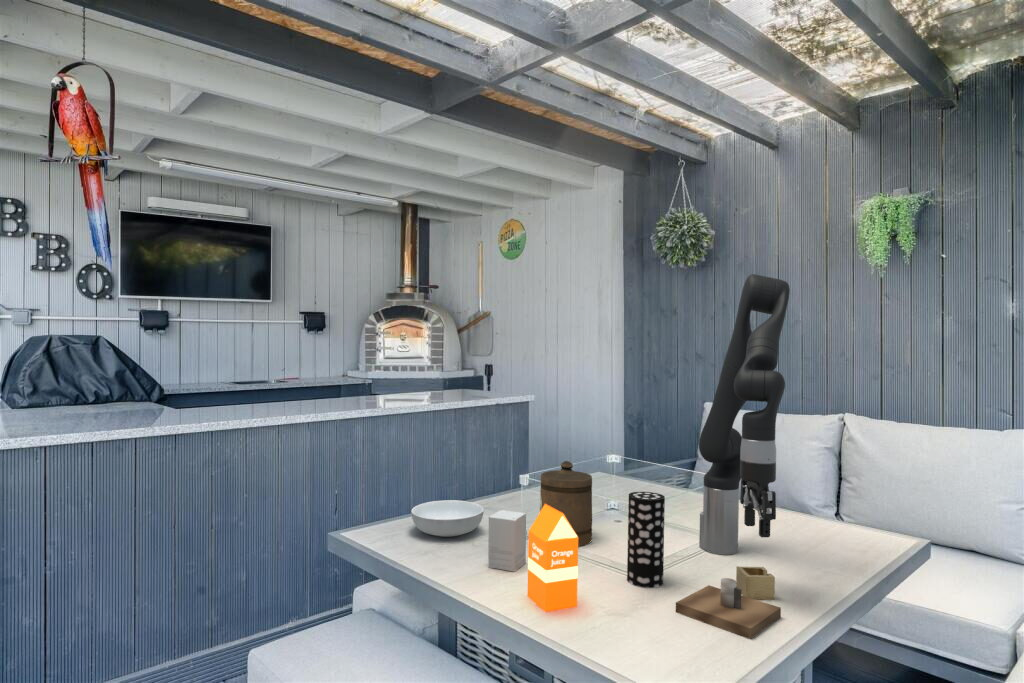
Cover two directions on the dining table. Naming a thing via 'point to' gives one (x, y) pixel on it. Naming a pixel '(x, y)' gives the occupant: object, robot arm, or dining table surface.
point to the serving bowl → (447, 517)
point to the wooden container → (570, 498)
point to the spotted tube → (645, 539)
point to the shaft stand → (729, 609)
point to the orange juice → (552, 561)
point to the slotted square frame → (755, 583)
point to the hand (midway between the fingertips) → (756, 531)
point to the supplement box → (507, 540)
